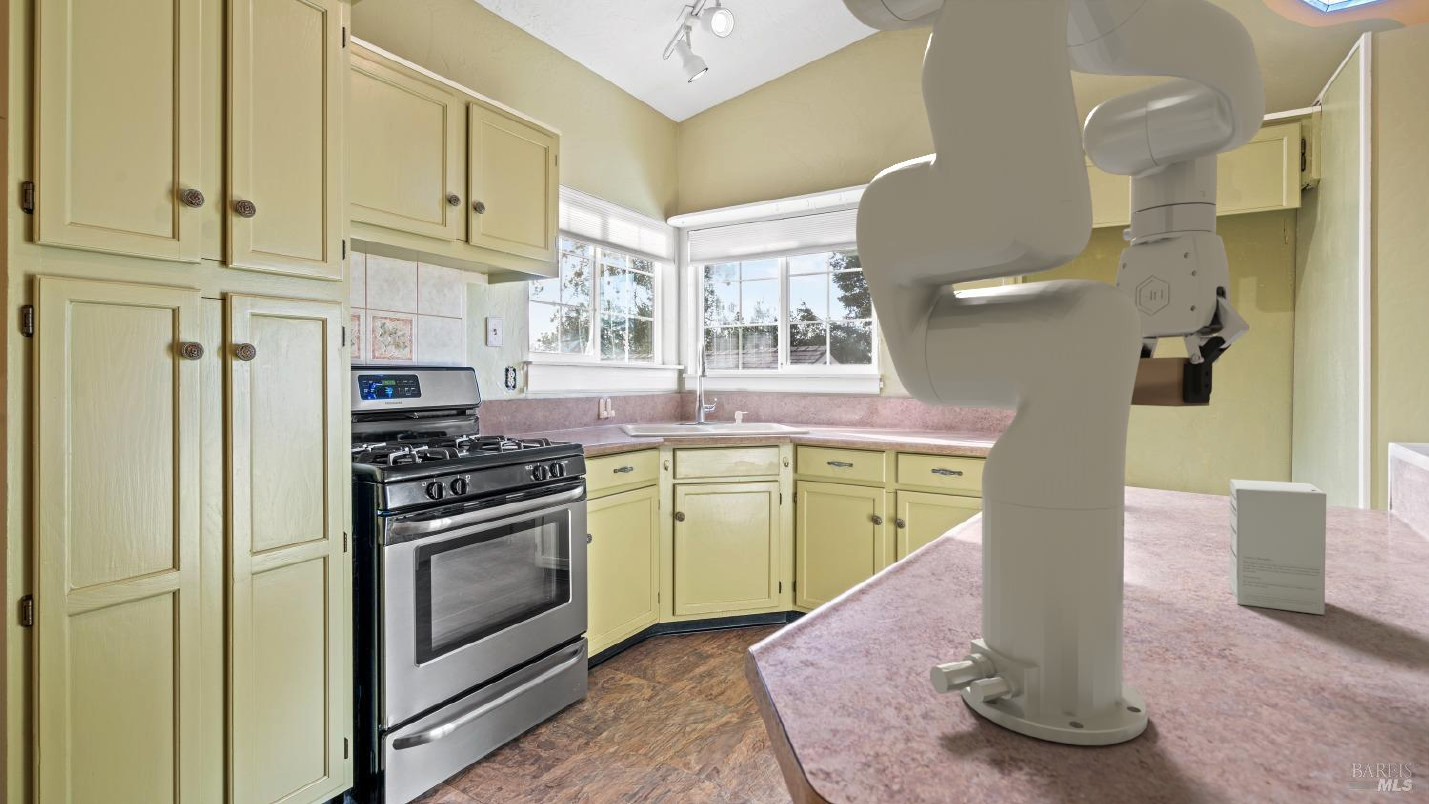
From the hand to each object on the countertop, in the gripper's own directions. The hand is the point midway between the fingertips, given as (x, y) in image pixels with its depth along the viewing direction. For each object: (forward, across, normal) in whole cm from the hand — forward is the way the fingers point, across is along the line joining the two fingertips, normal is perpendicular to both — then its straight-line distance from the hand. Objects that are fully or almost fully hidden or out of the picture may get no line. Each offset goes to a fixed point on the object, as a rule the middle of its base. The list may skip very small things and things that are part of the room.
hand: (1169, 400), depth 73 cm
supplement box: (+22, +4, +11) cm, 25 cm away
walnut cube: (+1, 0, 0) cm, 1 cm away
